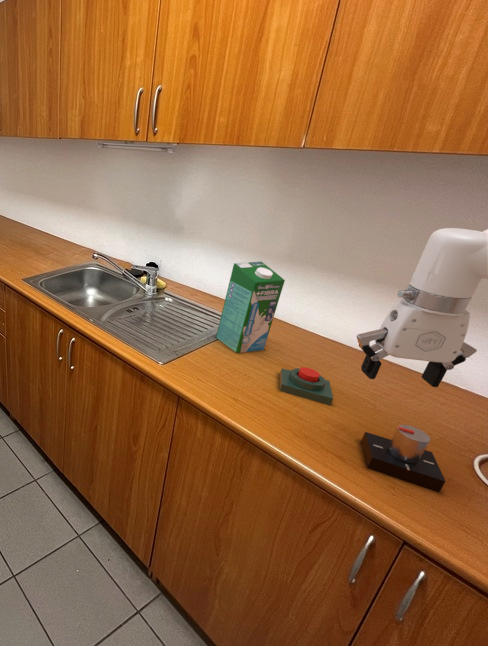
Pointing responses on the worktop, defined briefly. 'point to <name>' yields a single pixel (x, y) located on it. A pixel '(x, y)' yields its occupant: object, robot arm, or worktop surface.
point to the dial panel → (401, 464)
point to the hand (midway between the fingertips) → (397, 378)
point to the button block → (305, 386)
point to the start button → (308, 374)
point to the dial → (408, 444)
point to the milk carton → (249, 306)
